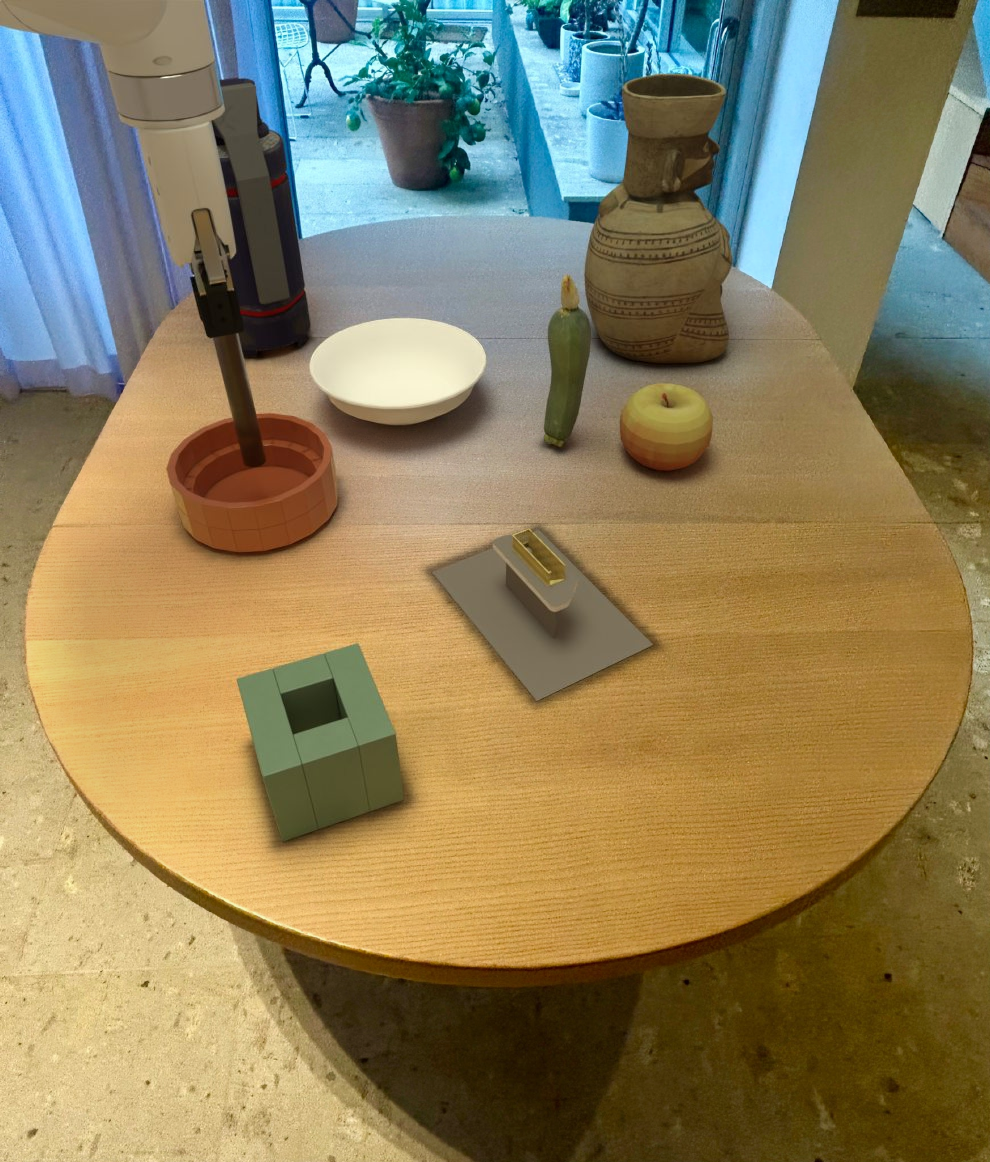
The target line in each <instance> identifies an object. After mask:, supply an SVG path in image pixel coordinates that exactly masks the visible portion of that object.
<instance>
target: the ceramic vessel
mask: <svg viewBox="0 0 990 1162" xmlns="http://www.w3.org/2000/svg"><path fill="white" fill-rule="evenodd" d="M621 89H622V90H621V100H622V109H623V116H624V125H625V128H626V130H627V133H628V134H627V145H626V152H625V153H626V154H625V161H624V170H623V178H622V181H621V183H620V184H618V185H617V186H616V187H614V188H613V189H612V190H611V191H609V192H608V193H607V194H606V195H605V196H604V197H603V198H602V199H601V201H600V203H599V206H598V215H597V217H596V219H595V221H594V223H593V226H592V228H591V230H590V231H591V232H590V235H589V239H588V244H587V250H586V256H585V262H584V273H583V275H584V290H585V299H586V302H587V308H588V311H589V314H590V317H591V318H590V319H591V321H592V324H593V327H594V329H595V331H596V333H597V335H598V337H599V338H600V340H601V341H602V343H603V344H604V345H605V346H606V347H607V348H608V350H610V351H611V352H613V353H615V354H617V355H618V356H620V357H623V358H626V359H628V360H630V361H636V362H643V363H644V362H645V363H653V364H698V363H704V362H708V361H711V360H715V359H717V358H718V357H720V356H721V355H722V354H724V352H725V351H726V349H727V347H728V344H729V337H730V333H729V327H728V322H727V319H726V316H725V313H724V309H723V305H722V295H723V283H724V282H725V281H726V279H727V277H728V276H729V274H730V272H731V269H732V265H733V252H732V248H731V244H730V239H731V236H730V235H731V234H730V233H729V230H728V229H727V227H726V226H725V225H724V224H723V223H722V222H721V221H720V220H718V219H717V218H716V217H715V216H713V215H712V213H711V212H710V211H709V209H708V208H707V207H706V206H705V204H704V201H703V200H702V199H701V197H700V196H699V195H698V194H697V193H696V191H697V190H700V189H702V188H704V187H706V186H709V185H711V184H712V182H713V171H714V168H715V167H716V163H715V158H714V157H715V156H716V155H717V154H719V153H720V151H721V147H720V145H719V144H718V142H716V141H715V140H714V139H712V138H711V137H710V136H709V134H710V132H711V131H712V129H713V127H714V125H715V123H717V119H718V117H719V115H720V112H721V110H722V107H723V104H724V102H725V100H726V96H727V90H726V88H725V86H724V85H723V84H721V83H718V82H716V81H714V80H712V79H710V78H707V77H702V76H697V75H693V74H689V73H656V74H650V75H646V76H641V77H637V78H633V79H631V80H628V81H626V82H625V83H624V84H623V86H622V88H621Z"/></svg>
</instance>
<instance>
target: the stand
mask: <svg viewBox="0 0 990 1162" xmlns="http://www.w3.org/2000/svg"><path fill="white" fill-rule="evenodd" d="M373 677H374V676H373V675H372V672H371V669H370V668H369V666H368V663H367V660H366V658H365V656H364V653H363V650H362V649H361V646H360V644H359V642H357V643H353V644H349V645H346V646H343V647H340V648H335V649H332V650H328V651H326V652H324V653H319V654H316V655H313V656H309V657H305V658H302V659H299V660H296V661H292V662H289V663H285V664H282V665H278V666H275V667H273V668H268V669H265V670H261V671H258V672H255V673H250V674H248V675H244V676H241V677H238V678H236V684H237V687H238V691H239V694H240V698H241V703H242V706H243V710H244V713H245V717H246V721H247V725H248V729H249V732H250V735H251V736H250V737H251V740H252V743H253V747H254V751H255V755H256V759H257V762H258V766H259V770H260V773H261V777H262V781H263V784H264V786H265V787H264V788H265V790H266V793H267V797H268V801H269V803H270V806H271V810H272V812H273V816H274V819H275V823H276V827H277V830H278V832H279V835H280V839H281V841H282V842H286V841H289V840H292V839H294V838H297V837H298V838H299V837H301V836H303V835H304V836H305V835H306V834H309V833H312V832H315V831H317V830H321V829H325V828H328V827H330V826H333V825H335V824H338V823H342V822H345V821H347V820H350V819H353V818H356V817H358V816H362V815H364V814H367V813H370V812H374V811H376V810H379V809H382V808H385V807H388V806H390V805H394V804H396V803H399V802H401V801H404V789H403V783H402V782H403V781H402V774H401V767H400V765H401V764H400V759H399V758H400V757H399V749H398V741H397V734H396V731H395V728H394V726H393V724H392V721H391V719H390V717H389V713H388V712H387V709H386V706H385V704H384V702H383V700H382V697H381V694H380V692H379V690H378V687H377V684H376V682H375V680H374V678H373Z"/></svg>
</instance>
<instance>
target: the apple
mask: <svg viewBox="0 0 990 1162" xmlns="http://www.w3.org/2000/svg"><path fill="white" fill-rule="evenodd" d="M707 403H708V402H707V401H706V399H704V398H703V396H701V394H699V393H698V392H697V391H695V390H694V389H692V388H690V387H687V386H684V385H681V384H676V383H670V382H668V383H667V382H666V383H665V382H664V383H653V384H649V385H646V386H644V387H642V388H640V389H639V390H637V391H636V392H634V393H633V394H632V395H630V397H629V398H628V400H627V401H626V403H625V404H624V407H623V408H622V409H621V412H620V417H619V436H620V441H621V443H622V444H623V447H624V448H625V450H626V451H627V452H628V454H629V455H630V457H631V458H632V459H633V460H634V461H636V462H638V463H639V464H641V465H643V466H644V467H646V468H649V469H653V470H656V471H673V470H674V471H675V470H681V469H684V468H686V467H688V466H691V465H692V464H694V463H696V462H697V461H698V460H699V458H701V456H702V455H703V454H704V453H705V451H706V450H707V449H708V448H709V447H710V443H711V441H712V437H713V426H714V417H713V413H712V411H711V408H710V406H709V405H708V404H707Z"/></svg>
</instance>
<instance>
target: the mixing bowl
mask: <svg viewBox="0 0 990 1162" xmlns="http://www.w3.org/2000/svg"><path fill="white" fill-rule="evenodd" d="M256 415H257V420H258V424H259V429H260V433H261V438H262V442H263V447H264V451H265V456H266V462H265V463H264V464H263V465H262V466H259V467H255V468H250V467H247V466H245V465H244V463H243V459H242V455H241V451H240V447H239V443H238V438H237V434H236V430H235V426H234V422H233V418H232V417H227V418H223V419H220V420H218V421H216V422H213V423H211V424H208V425H205V426H203V427H200V428H199V429H197V430H196V431H195V432H193V433H191V434H190V435H189V436H187V437H186V438H183V440H182V441H181V442H180V443H179V444H178V445H177V446H176V448H175V449H174V450H172V452H171V454H170V455H169V459H168V463H167V465H166V469H165V470H166V473H167V479H168V482H169V485H170V488H171V492H172V495H173V498H174V501H175V505H176V508H177V511H178V514H179V518H180V520H181V523H182V526H183V528H184V529H185V530H186V531H187V532H188V533H189V535H191V536H192V538H193V539H194V540H196V541H198V542H200V543H202V544H204V545H206V546H208V547H211V548H212V549H217V550H222V551H229V552H234V553H248V552H249V553H250V552H264V551H270V550H274V549H278V548H282V547H285V546H290V545H292V544H294V543H297V542H298V541H301V540H302V539H304V538H306V537H308V536H311V535H312V534H313V533H315V531H317V530H319V528H321V526H323V525H324V524H325V523H326V522H327V521H329V519H330V518H331V516H332V514H333V513H334V512H335V509H336V508H337V506H338V500H339V485H338V478H337V471H336V464H335V458H334V452H333V446H332V444H331V441H330V439H329V437H328V436H327V434H326V433H325V431H323V430H322V429H321V428H319V427H318V426H316V425H315V424H314V423H313V422H311V421H308V420H305V419H302V418H299V417H297V416H294V415H287V414H280V413H273V412H269V413H267V412H265V413H256Z"/></svg>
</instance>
